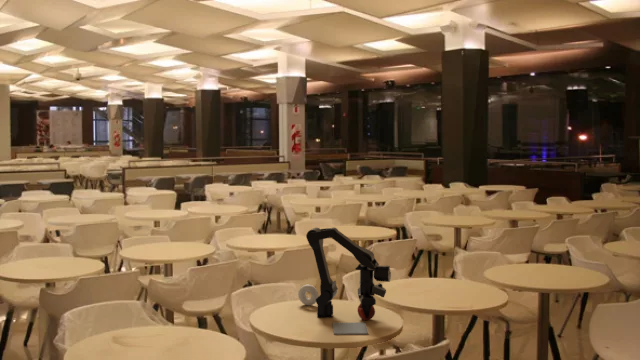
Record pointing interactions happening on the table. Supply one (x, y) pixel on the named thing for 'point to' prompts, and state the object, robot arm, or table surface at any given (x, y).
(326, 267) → the robot arm
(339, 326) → the mat
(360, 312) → the apple
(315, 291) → the donut
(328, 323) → the table surface
